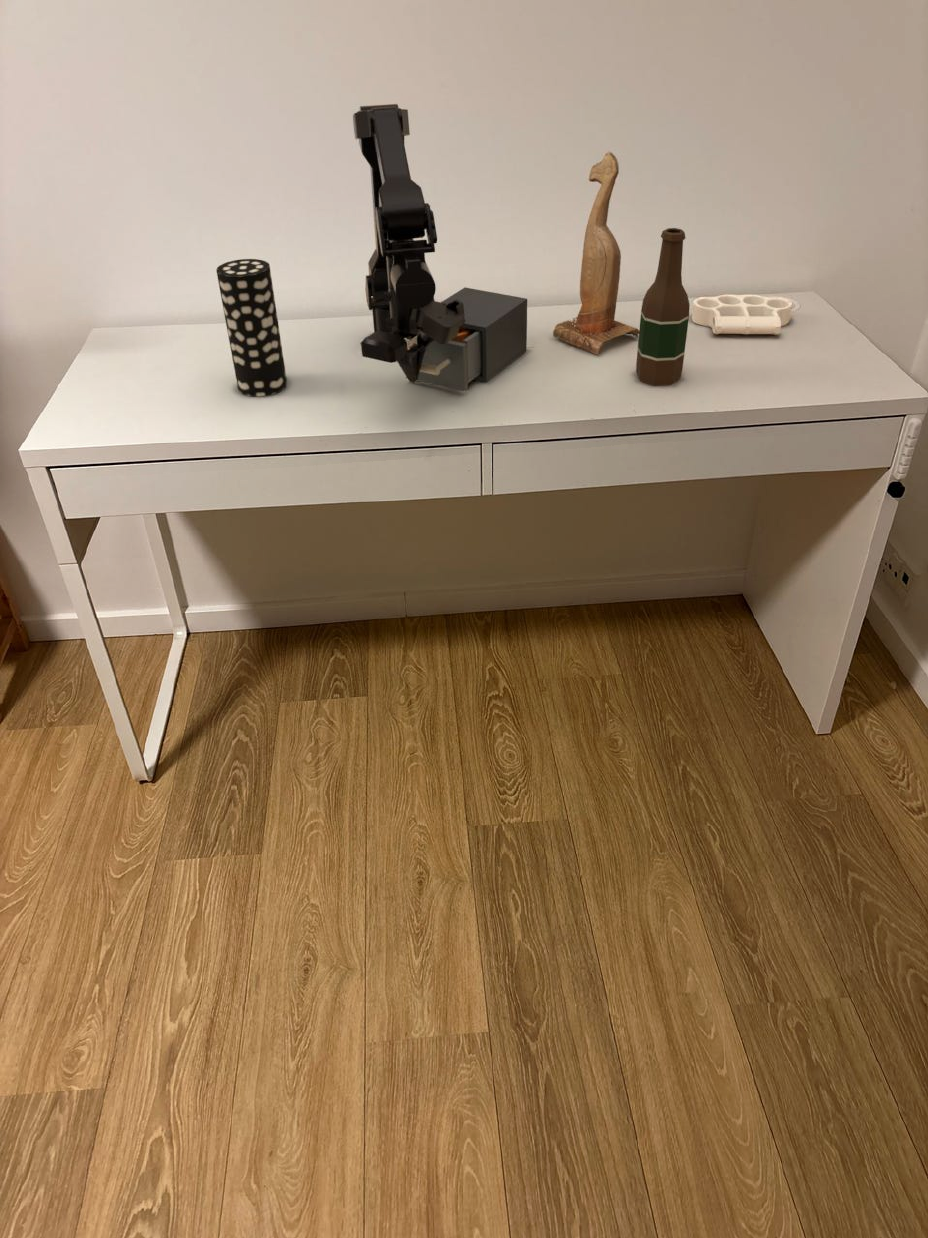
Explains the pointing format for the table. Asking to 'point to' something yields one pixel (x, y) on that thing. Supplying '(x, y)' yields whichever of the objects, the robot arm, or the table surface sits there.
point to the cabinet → (495, 327)
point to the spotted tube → (252, 326)
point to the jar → (462, 334)
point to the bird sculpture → (598, 272)
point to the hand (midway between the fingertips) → (413, 381)
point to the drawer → (453, 362)
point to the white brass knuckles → (742, 314)
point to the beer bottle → (664, 317)
